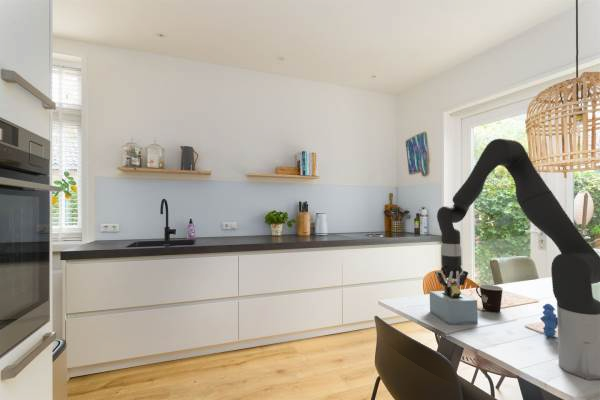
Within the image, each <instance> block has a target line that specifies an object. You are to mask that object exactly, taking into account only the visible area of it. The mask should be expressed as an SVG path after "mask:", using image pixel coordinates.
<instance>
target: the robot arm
mask: <svg viewBox="0 0 600 400" xmlns="http://www.w3.org/2000/svg"><path fill="white" fill-rule="evenodd" d="M498 166H501V167H502V166H503V167H504V168H505V169H506V170H507V172H508V173H509V175H510V176H511V177H512V179H513V182H514V185H515V197H516V201H517V203H518V205H519V207H520V208H521V210H522V212H523V214H524V216H525V217H526V218H527V219H528V220H529V221H530V222H531V223H532V224H533V226H535V227H536V228H537V229H538V230H540V231H541V232H542V233H543V234H545V235H546V236H547V237H548V238H550V239H551V241H552V242H553V244H555V245H556V247H557V249H558V250H559V252H560V253H559V254H557V255H556V256H555V257H554V258H553V260H552V262H551V283H552V284H551V285H552V293H553V296H554V298H555V299H556V310H557V311H556V312H557V314H556V317H557V321H558V326H557V348H558V349H557V350H558V351H557V352H558V365H559V367H560V368H561V369H562V370H564V371H565V372H568V373H570V374H572V375H574V376H578V377H580V378H583V379H584V380H585V379H586V380H587V381H590V380H591V381H592V380H600V300H598V299H596V298H594V295H593V288H592V287H593V286H592V284H593V285H594V284H598V283H600V255H599V254H598V253H597V251H595V249H594V248H593V247H592V245H591V244H590V243H588V241H587V240H586V239H585V238H584V236H583V235H582V234H581V232H580V231H579V230H578V228H577V227H576V225H575V224H574V222H573V221H572V220H571V218H570V216H568V214H567V213H566V211H565V210H564V208H563V207H562V205H561V204H560V202H559V200H558V199H557V198H556V196H555V195H554V193H553V192H552V190H551V189H550V188H549V186H548V185H547V184H546V181H544V179H543V178H542V176H541V175H540V173H539V172H538V170H536V168H535V166H534V164H533V162H532V160H531V158H530V156H529V155H528V153H527V151H526V149H525V147H524V146H523V144H522V143H520V142H519V141H516V140H514V139H507V138H495V139H493V140H491V141H489V143H488V144H487V145H486V146H485V148H484V149H483V152H482V153H481V155H480V156H479V158H478V160H477V162H476V163H475V165H474V167H473V169H472V171H471V173H470V174H469V176H468V177H467V179H466V180H465V182H464V183H463V184H462V185H461V187H460V188H459V189H458V190H457V192H456V193H455V194H454V195H453V196H452V202H453V205H451V206H450V205H449V206H448V205H447V206H441V207H440V208H439V209H438V210H437V214H436V218H437V223H438V227H439V230H440V233H441V247H440V248H441V249H440V256H441V268H440V270H438V271H435V272H434V274H435V276H436V278H437V280H438V281H439V282H438V283H439V284H440V285H442V286H444V290H445V294H446V295H447V296H450V283H456V285H457V286H458V288H459V289H460V287H461V286H464V285H465V282H466V280H467V277H468V275H469V272H468V271H466V270H463V267H462V265H463V264H462V261H463V260H462V246H461V232H460V230H459V229H456V228H455V227H454V224H456V223H460V222H461V221H462V220H463V219H464V218H465V217H466V215H467V213H468V211H469V208H470V207H471V206H472V205H473V203H474V202H476V200H477V199H478V198H479V196H480V195H481V194H482V191H483V189H484V186H485V183H486V180H487V179H488V177H489V175H490V174H491V173H492V172H493V171H494V170H495V169H496V168H497V167H498ZM452 281H453V282H452Z"/></svg>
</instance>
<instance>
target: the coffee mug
mask: <svg viewBox="0 0 600 400" xmlns="http://www.w3.org/2000/svg"><path fill="white" fill-rule="evenodd" d="M478 289H479V291H478ZM475 291H476V295H478V296H479V298H480V299H481V305H482V309H485V310H487V311H486V312H488V313H492V314H493V313H496V314H499V313H500V312H501V307H502V300H503V299H502V298H503V287H502V286H498V285H495V284H494V285H493V284H480V285H478V286H476V287H475ZM479 292H480V293H479ZM485 310H484V311H485Z"/></svg>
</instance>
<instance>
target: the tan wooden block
mask: <svg viewBox="0 0 600 400" xmlns="http://www.w3.org/2000/svg"><path fill="white" fill-rule="evenodd" d="M443 291H444V293H445V289H444V290H443ZM461 293H462V291H461V289H460V287H459V288H458V286H457V285H456V283H453V282H451V283H450V296H448V297H450V298H452V299H458V297H459V296H460V294H461ZM445 295H446V294H445ZM446 296H447V295H446Z"/></svg>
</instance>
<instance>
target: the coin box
mask: <svg viewBox="0 0 600 400" xmlns="http://www.w3.org/2000/svg"><path fill="white" fill-rule="evenodd" d="M429 312H430V313H431V314H432V315H434V316H436V317H437V318H439V319H440V320H441V321H443V322H444V321H445V322H444V323H445V324H447V323H448V325H449V324H453V325H464V324H463V323H472V324H478V323H479V322H478V321H479V320H478V318H479V316H478V300H477V299H475V298H473V297H472V296H469V295H466V294H464V293H463V292H461V294H460V296H459V297H458V299H452V298H450V297H448V296H446V295H445V293H444V290H434V291H433V290H429Z"/></svg>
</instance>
